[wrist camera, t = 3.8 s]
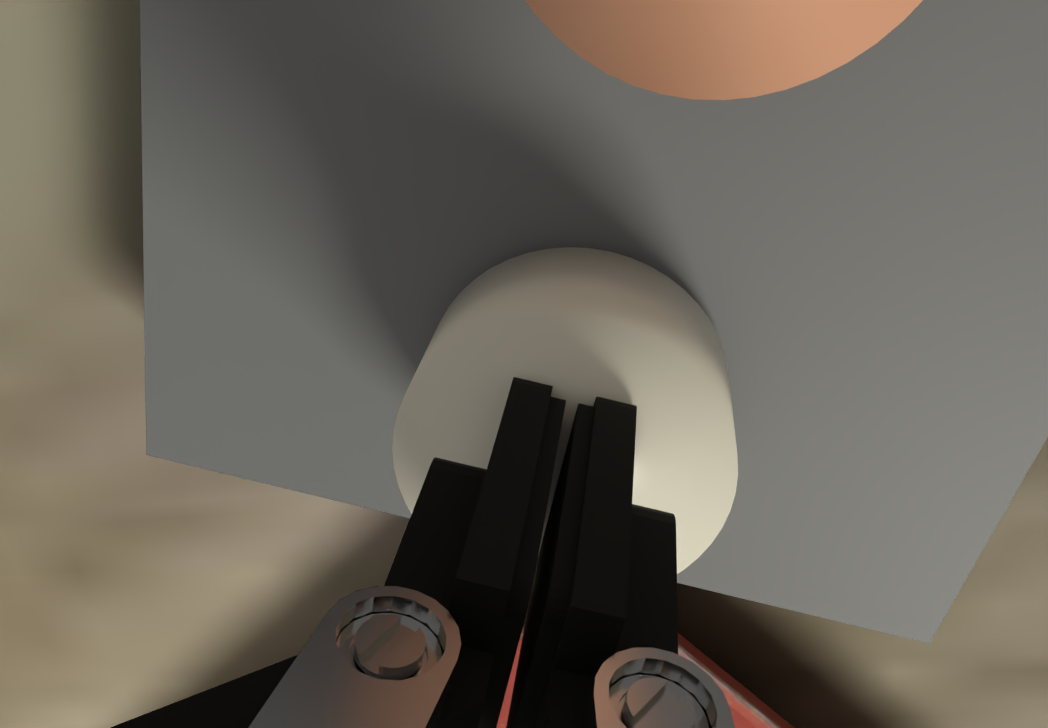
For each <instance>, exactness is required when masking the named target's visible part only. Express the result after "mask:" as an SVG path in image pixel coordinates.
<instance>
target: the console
mask: <svg viewBox="0 0 1048 728" xmlns="http://www.w3.org/2000/svg"><path fill="white" fill-rule="evenodd" d="M140 49H141V120H142V191H143V262H144V332H145V403H146V455H149V456H153V457H157V458H161V459H165V460H169V461H174V462H178V463H182V464H186V465H190V466H194V467H198V468H203V469H207V470H211V471H215V472H219V473H223V474H228V475H232V476H236V477H240V478H244V479H248V480H252V481H257V482H261V483H265V484H269V485H273V486H277V487H281V488H286V489H290V490H294V491H298V492H302V493H306V494H311V495H315V496H319V497H323V498H327V499H331V500H335V501H340V502H344V503H348V504H352V505H356V506H360V507H364V508H369V509H373V510H377V511H381V512H385V513H389V514H394V515H398V516H402V517H406V518H410V517H411V515H412V514H411V512H410V510H409V509H408V507H407V505H406V503H405V501H404V499H403V496H402V494H401V491H400V489H399V486H398V482H397V478H396V474H395V470H394V463H393V452H392V445H393V430H394V426H395V422H396V417H397V413H398V410H399V408H400V405H401V403H402V400H403V398H404V395H405V393H406V391H407V389H408V387H409V385H410V383H411V381H412V379H413V377H414V375H415V372H416V370H417V368H418V366H419V364H420V362H421V360H422V358H423V356H424V354H425V352H426V350H427V348H428V346H429V343H430V341H431V339H432V337H433V335H434V333H435V331H436V329H437V327H438V325H439V323H440V321H441V319H442V317H443V316H444V314H445V312H446V311H447V309H448V307H449V306H450V304H451V303H452V302H453V301H454V299H455V298H456V297H457V296H458V295H459V293H460V292H461V291H462V290H463V289H464V288H465V287H467V286H468V285H469V284H470V283H471V282H472V281H473V280H474V279H476V278H477V277H478V276H480V275H481V274H483V273H484V272H486V271H487V270H489V269H490V268H492V267H494V266H496V265H498V264H500V263H502V262H504V261H506V260H508V259H511V258H514V257H517V256H520V255H523V254H526V253H529V252H534V251H539V250H544V249H551V248H563V247H577V248H592V249H598V250H604V251H610V252H614V253H617V254H620V255H624V256H627V257H630V258H633V259H635V260H637V261H640V262H642V263H644V264H647V265H649V266H651V267H653V268H654V269H656V270H658V271H659V272H661V273H663V274H664V275H666V276H668V277H669V278H670V279H672V280H673V281H674V282H675V283H677V284H678V285H679V286H680V287H682V288H683V289H684V290H685V291H686V292H687V293H688V294H689V295H690V296H691V297H692V298H693V299H694V300H695V301H696V302H697V303H698V304H699V306H700V307H701V308H702V310H703V311H704V312H705V314H706V315H707V317H708V318H709V319H710V321H711V323H712V325H713V327H714V328H715V330H716V332H717V334H718V336H719V339H720V341H721V344H722V347H723V350H724V353H725V357H726V362H727V367H728V373H729V382H730V391H731V400H732V410H733V419H734V428H735V437H736V446H737V456H738V479H737V487H736V494H735V497H734V501H733V504H732V507H731V511H730V513H729V515H728V517H727V519H726V521H725V523H724V525H723V528H722V529H721V531H720V532H719V534H718V535H717V536H716V538H715V539H714V541H713V542H712V544H711V545H710V546H709V547H708V548H707V549H706V550H705V551H704V552H703V554H702V555H701V556H700V557H699V558H698V559H696V560H695V561H694V562H693V563H692V564H690V565H689V566H688V567H687V568H686V569H684V570H683V571H681V572H680V573H678V574H677V583H680V584H684V585H688V586H692V587H696V588H701V589H705V590H709V591H713V592H717V593H721V594H726V595H730V596H734V597H738V598H742V599H746V600H750V601H755V602H759V603H763V604H767V605H771V606H775V607H779V608H784V609H788V610H792V611H796V612H800V613H804V614H809V615H813V616H817V617H821V618H825V619H829V620H833V621H838V622H842V623H846V624H850V625H854V626H858V627H862V628H867V629H871V630H875V631H879V632H883V633H887V634H892V635H896V636H900V637H904V638H908V639H912V640H916V641H921V642H925V643H930V641H931V640H932V638H933V636H934V634H935V633H936V631H937V629H938V628H939V626H940V624H941V622H942V621H943V619H944V617H945V615H946V614H947V612H948V610H949V608H950V607H951V605H952V603H953V601H954V600H955V598H956V596H957V594H958V593H959V591H960V589H961V587H962V586H963V584H964V582H965V580H966V579H967V577H968V575H969V573H970V572H971V570H972V568H973V566H974V565H975V563H976V561H977V559H978V558H979V556H980V554H981V552H982V551H983V549H984V547H985V545H986V544H987V542H988V540H989V539H990V537H991V535H992V533H993V532H994V530H995V528H996V526H997V525H998V523H999V521H1000V519H1001V518H1002V516H1003V514H1004V512H1005V511H1006V509H1007V507H1008V505H1009V504H1010V502H1011V500H1012V498H1013V497H1014V495H1015V493H1016V491H1017V490H1018V488H1019V486H1020V484H1021V483H1022V481H1023V479H1024V477H1025V476H1026V474H1027V472H1028V470H1029V469H1030V467H1031V465H1032V463H1033V462H1034V460H1035V458H1036V456H1037V455H1038V453H1039V451H1040V449H1041V448H1042V446H1043V444H1044V443H1045V441H1046V439H1047V437H1048V0H923V1H922V2H921V3H920V4H919V5H918V6H917V7H916V8H915V9H914V10H913V11H912V12H911V13H910V14H909V16H908V17H907V18H906V19H905V20H904V21H903V22H901V23H900V24H899V25H898V26H897V27H895V28H894V29H893V30H892V31H891V32H889V33H888V34H887V35H886V36H885V37H884V38H882V39H881V40H880V41H879V42H878V43H876V44H875V45H873V46H872V47H870V48H869V49H867V50H866V51H864V52H863V53H861V54H860V55H858V56H857V57H855V58H854V59H852V60H851V61H849V62H848V63H846V64H844V65H842V66H840V67H838V68H836V69H834V70H832V71H830V72H828V73H826V74H825V75H823V76H821V77H819V78H817V79H814V80H811V81H808V82H806V83H803V84H800V85H798V86H795V87H792V88H789V89H787V90H783V91H778V92H774V93H770V94H766V95H761V96H757V97H750V98H740V99H731V100H695V99H687V98H681V97H674V96H668V95H662V94H659V93H656V92H652V91H649V90H646V89H642V88H639V87H636V86H633V85H631V84H628V83H626V82H624V81H622V80H620V79H617V78H615V77H613V76H611V75H609V74H606V73H605V72H603V71H602V70H600V69H598V68H597V67H595V66H594V65H592V64H590V63H589V62H587V61H586V60H584V59H582V58H581V57H580V56H578V55H577V54H576V53H575V52H574V51H572V50H571V49H570V48H569V47H568V46H566V45H565V44H564V43H563V42H562V41H560V40H559V39H558V38H557V37H556V36H555V35H554V34H553V33H552V32H551V31H550V30H549V29H548V28H547V26H546V25H545V24H544V23H543V22H542V21H541V20H540V19H539V18H538V17H537V16H536V15H535V13H534V12H533V10H532V9H531V8H530V6H529V5H528V3H527V2H526V1H525V0H140Z"/></svg>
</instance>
